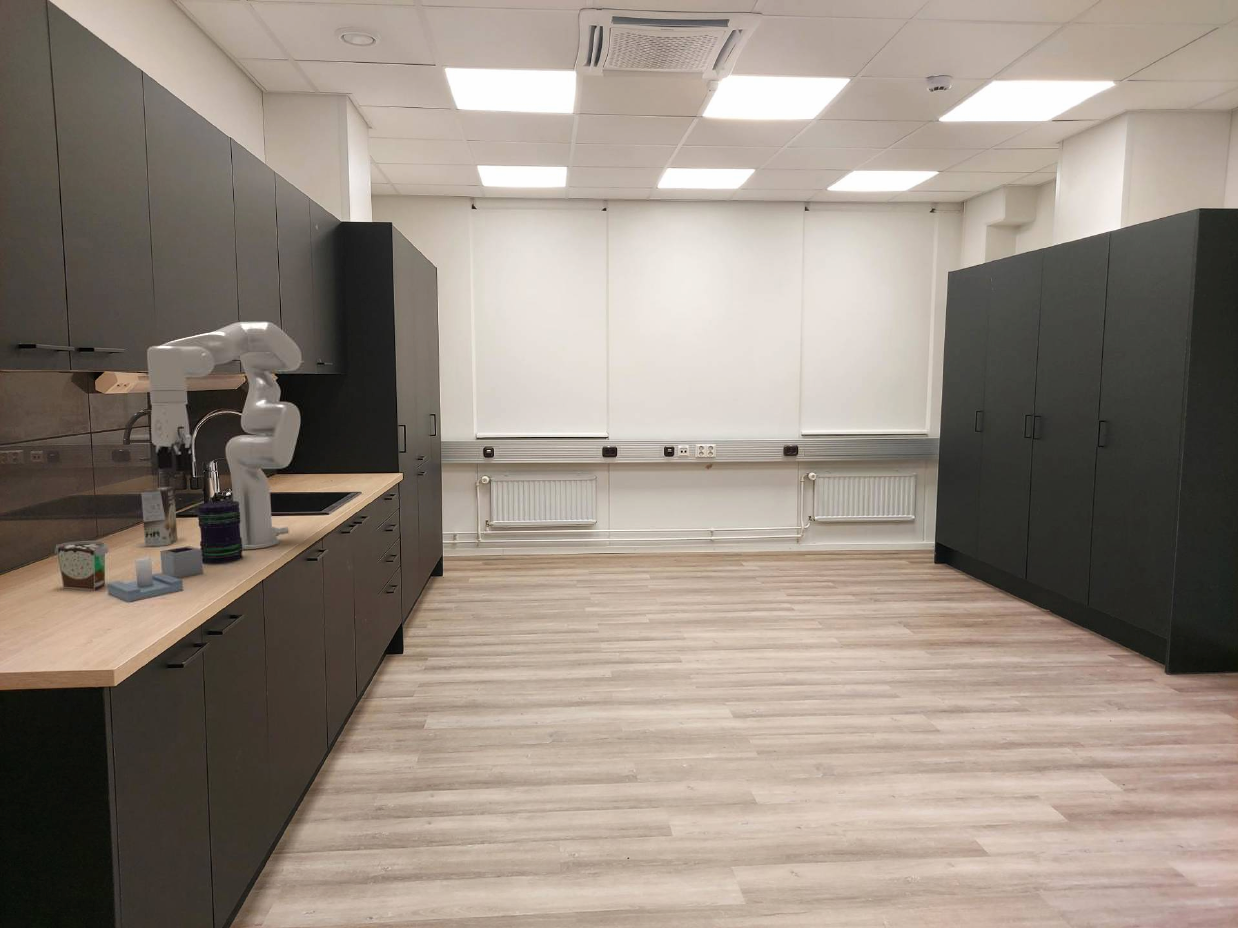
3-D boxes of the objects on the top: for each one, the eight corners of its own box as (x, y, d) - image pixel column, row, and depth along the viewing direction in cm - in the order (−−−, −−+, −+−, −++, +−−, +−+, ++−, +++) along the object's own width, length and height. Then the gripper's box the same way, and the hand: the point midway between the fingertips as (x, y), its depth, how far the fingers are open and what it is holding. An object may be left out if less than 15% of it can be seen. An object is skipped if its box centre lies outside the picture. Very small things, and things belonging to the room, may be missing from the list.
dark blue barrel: (211, 566, 192) (207, 508, 190) (194, 560, 198) (190, 504, 196) (250, 558, 200) (246, 503, 198) (232, 553, 206) (228, 499, 204)
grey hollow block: (190, 569, 189) (188, 545, 188) (203, 573, 185) (201, 549, 184) (162, 574, 184) (160, 550, 183) (174, 579, 180) (172, 554, 179)
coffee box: (170, 545, 217) (165, 490, 215) (144, 547, 215) (140, 491, 213) (178, 539, 226) (174, 486, 224) (153, 540, 224) (149, 487, 222)
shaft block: (161, 582, 177) (158, 551, 176) (182, 589, 170) (180, 557, 170) (108, 593, 168) (105, 560, 167) (128, 601, 162) (125, 567, 161)
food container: (124, 583, 176) (120, 541, 175) (99, 590, 170) (96, 547, 169) (83, 580, 180) (79, 539, 178) (58, 587, 174) (54, 544, 173)
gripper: (136, 398, 182) (141, 468, 183) (168, 399, 171) (174, 473, 173) (169, 397, 188) (174, 465, 189) (202, 398, 177) (207, 470, 179)
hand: (174, 469), depth 181 cm, fingers open, 9 cm apart
